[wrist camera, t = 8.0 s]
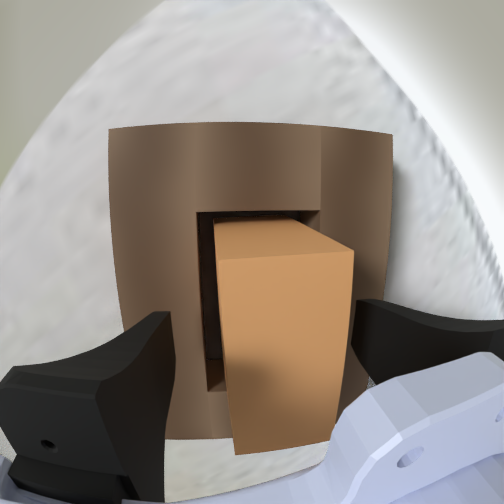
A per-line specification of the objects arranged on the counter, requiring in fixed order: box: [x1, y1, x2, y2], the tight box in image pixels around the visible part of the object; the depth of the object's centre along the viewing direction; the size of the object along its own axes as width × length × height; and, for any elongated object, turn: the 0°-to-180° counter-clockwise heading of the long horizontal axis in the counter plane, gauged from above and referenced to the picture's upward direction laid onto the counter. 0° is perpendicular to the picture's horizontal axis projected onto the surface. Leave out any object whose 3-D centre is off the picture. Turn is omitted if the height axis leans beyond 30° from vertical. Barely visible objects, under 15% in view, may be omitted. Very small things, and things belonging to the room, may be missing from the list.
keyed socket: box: [108, 122, 393, 440], centre depth 15 cm, size 12×16×3 cm
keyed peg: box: [213, 215, 354, 455], centre depth 12 cm, size 4×7×8 cm, turn 2°
